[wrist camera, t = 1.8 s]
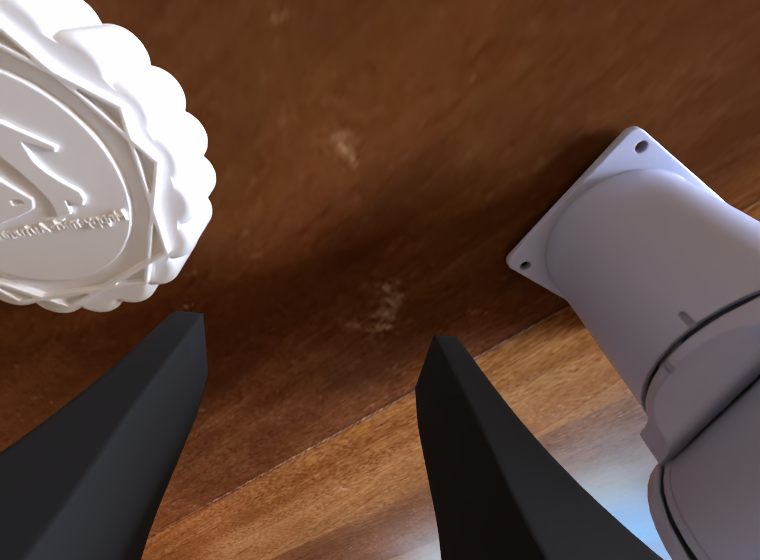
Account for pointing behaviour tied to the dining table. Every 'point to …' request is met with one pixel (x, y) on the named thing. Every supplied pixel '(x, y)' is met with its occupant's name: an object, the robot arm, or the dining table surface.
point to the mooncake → (92, 162)
